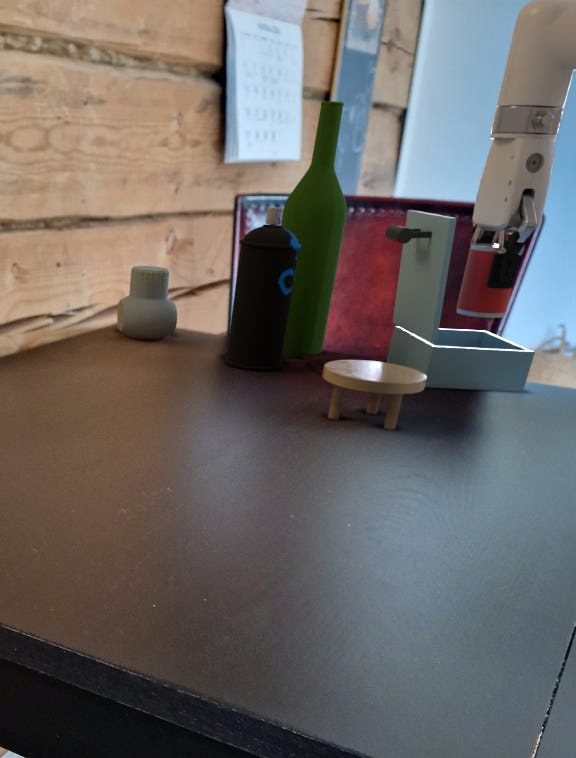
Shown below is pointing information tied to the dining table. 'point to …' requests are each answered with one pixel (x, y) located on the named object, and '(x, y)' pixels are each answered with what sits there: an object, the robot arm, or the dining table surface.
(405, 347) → the pale blue open box
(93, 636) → the dining table surface
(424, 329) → the lid
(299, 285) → the wine bottle
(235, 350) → the aerosol can
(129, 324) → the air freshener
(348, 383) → the stool
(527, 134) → the robot arm
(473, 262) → the drink can
